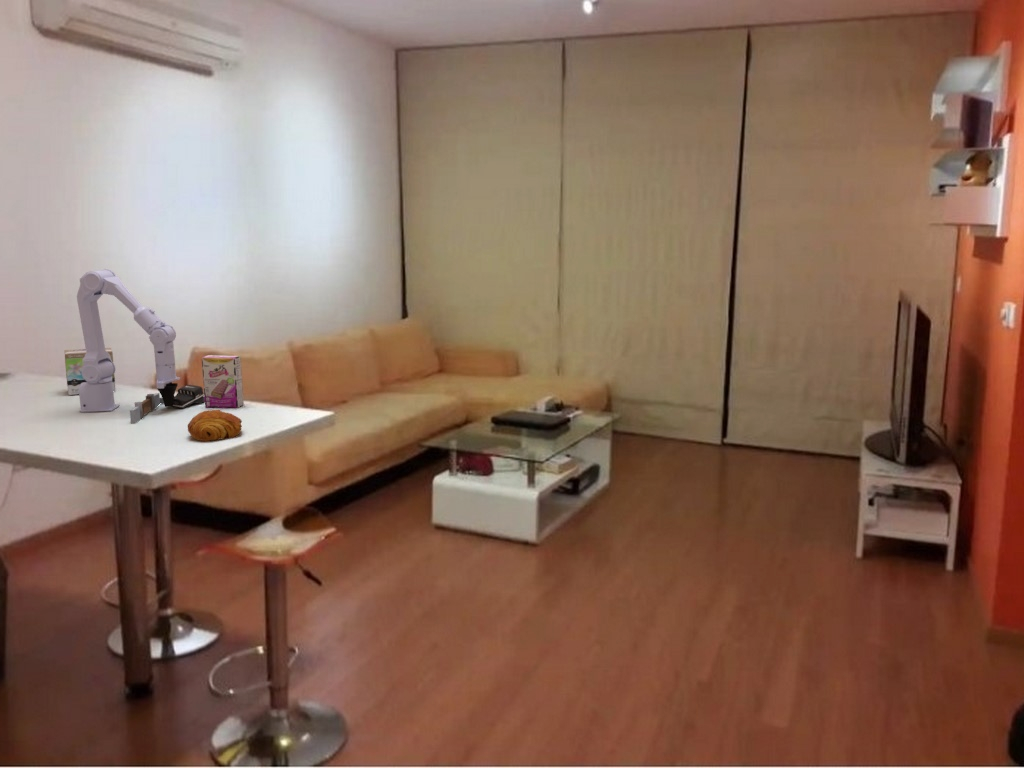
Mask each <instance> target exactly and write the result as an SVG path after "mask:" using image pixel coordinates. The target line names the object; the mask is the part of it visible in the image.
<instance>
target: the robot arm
mask: <svg viewBox="0 0 1024 768" xmlns="http://www.w3.org/2000/svg"><path fill="white" fill-rule="evenodd" d="M79 284H80V285H79V287H78V291H77V294H76V300H77V301H76V302H77V307H78V313H79V318H80V319H79V320H80V323H81V330H82V335H83V341H84V345H85V348H84V349H86V354H85V356H84V358H83V360H82V361H83V368H82V376H83V378H84V379H85V380H86V381H87V382H83V383H81V384H80V387H79V394H78V395H79V405H80V410H79V412H80V413H90V412H91V413H92V412H94V413H95V412H111V411H113V410H115V409H116V408H118V407H120V404H115V392H113V382H112V376H113V375H114V376H115V373H116V365H115V363H114V361H113V362H112V360H111V356H110V354H109V353H108V352H107V351H106V350H105V348H106V345H105V341H104V335H103V330H102V329H103V327H102V323H101V322H102V321H101V318H100V312H99V305H98V300H99V299H100V298H102V296H103V295H110V296H114V297H115V298H116V299H117V300H118V301H119V302H120V303H122V305H124V306H125V307H126V308H127V309H128V310H129V311H130V312H132V314H133V321H135V322H136V323H137V324H138V325H139V326H140V327H141V328H142V329H143V331H145V333H147V335H148V339H149V341H150V342H151V344H152V346H153V351H154V362H155V371H156V372H155V374H156V379H155V381H156V390H157V391H158V393H159V395H160V396H161V398H162V399H163V401H164V404H163V405H164V407H166V408H173V407H172V406H173V400H174V396H175V393H176V390H177V387H178V386H179V385H178V383H176V381H180V380H181V377H179V376H177V369H176V358H175V347H174V341H175V339H176V336H177V333H176V330H175V329H174V327H173V326H172V325H170V324H166V322H165V321H164V320H162V319H161V318H160V317H159V316H158V315H157V314H156V313H155V312H156V311H155V310H154V308H150V307H148V306H143V305H142V304H141V303H140V302H139V300H137V298H136V297H135V296H134V294H132V293H131V292H130V291H129V289H128V288H127V287H126V286H125V285H124V283H123V281H122V280H121V278H120V277H119V276H118V275H116V274H115V272H114V271H113V270H111V269H106V268H104V269H101V270H89V271H86V272H85V273H84V274H83V275H82V276H81V277H80V278H79Z"/></svg>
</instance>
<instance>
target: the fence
mask: <svg viewBox="0 0 1024 768" xmlns="http://www.w3.org/2000/svg"><path fill="white" fill-rule="evenodd" d="M146 396H152V407H153V409H152V411H155V410H156V409H157V408H158V407H159V406H158V405H159V404H160V398H161V397H160V396H161V394H160V392H155V393H148V394H147V395H146ZM160 405H161V404H160ZM157 406H158V407H157ZM156 407H157V408H156ZM155 408H156V409H155ZM154 409H155V410H154ZM129 418H130V423H131V424H137V423H138V422H139V421H140V419H141V420H143V419H144V416H143V411H142V401H136V402H134V407H132V408H131V409H130V410H129ZM142 418H143V419H142ZM138 420H139V421H138ZM137 421H138V422H137Z"/></svg>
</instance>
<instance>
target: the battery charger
mask: <svg viewBox="0 0 1024 768" xmlns="http://www.w3.org/2000/svg"><path fill="white" fill-rule="evenodd" d="M202 397H204V388H203V387H202V386H199V385H194V384H186V385H184V386H181V387H180V388H178V389H177V393H176V395H174V400H173V406H172V407H171V408H175V409H182V410H183V409H185V408H186V407H188V406H190V405H192V404H195V403H194V402H195V401H197V400H199V399H201V398H202Z"/></svg>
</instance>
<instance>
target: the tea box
mask: <svg viewBox="0 0 1024 768" xmlns="http://www.w3.org/2000/svg"><path fill="white" fill-rule="evenodd" d="M105 350H106V351H107V352H108V353H109V354H110V356H111V360H112V362H113V363H114V356H113V355H114V354H113V350H112V347H105ZM85 354H86V348H81V349H65V350H64V363H65V365H64V366H65V374H66V375H65V376H66V387H67V393H68V396H75V395H79V387H80V384H81V383H83V382H87V381H86V380H85V379H84V378H83V376H82V368H83V361H82V360H83V358H84V356H85ZM112 382H113V391H115V392H116V378H115V374H114V375H113V376H112Z"/></svg>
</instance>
